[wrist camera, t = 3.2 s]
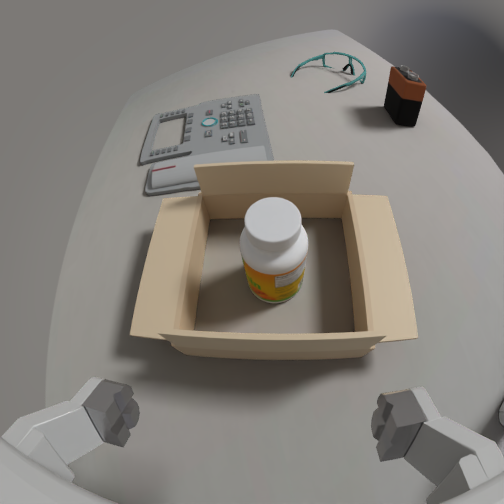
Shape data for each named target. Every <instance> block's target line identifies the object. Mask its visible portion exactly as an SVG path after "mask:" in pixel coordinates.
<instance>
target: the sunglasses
mask: <svg viewBox="0 0 504 504" xmlns="http://www.w3.org/2000/svg"><path fill="white" fill-rule="evenodd" d="M326 54H339V55H345V56H348V57H349V64H347V65H346V66H345V67H344V68H343V71H345V70H346V69H347V68H348V67H349V66H350V67H351V74H353V75H354V76H355V73H354V67H353V64H352V58H353V59H355V60H356V61H358V62H359V63H360V64H361V65H362V67H363V69H364V72H363V73H362V74H361V75H360V76H359V77H358V78H357V79H355V80H353V81H351V82H349V83H346V84H343V85H341V86H338V87H336V88H333V89H331V90H328V91H326V92H324V93H331V92H333V91H336V90H338V89H341V88H343V87H346V86H349V85H352V84H353V83H355V82H356V81H358V80H360V79H363V81H361V80H360V81H361V83H364V81H365V78H366V69H365V66H364V65H363V63H362V62H361V61H360V60H359V59H357V58H356V57H354V56H351V55H348V54H345V53H339V52H333V53H324V54H323V55H319V56H316V57H313V58H311V59H309V60H306V61H305V62H303V63H301V64H299V65H298V66H297V67H296V68H295V70H294V72H293V73H292V76H291V78H292V77H293V76H294V74H295V72H296V71H297V70H298V68H300V67H301V66H303V65H305V64H306V63H308V62H310V61H313V60H318V59H322V61H323V66H324V67H329V66H326V65H325V55H326ZM350 59H351V64H350ZM329 68H332V67H329Z"/></svg>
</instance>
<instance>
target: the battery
mask: <svg viewBox="0 0 504 504" xmlns="http://www.w3.org/2000/svg"><path fill="white" fill-rule="evenodd" d="M425 90H426V85H425V83H424V82H423V81H422V80H420V79H419V75H417V74H415V73H414V72H412V71H411V70H409V68H408V67H406V66H402V65H401V68H399V67H391V70H390V76H389V82H388V87H387V93H386V98H385V103H384V107H385V108H386V110H387V111H388V113H389V114H390V116H391V117H392V119H393V120H394V122H395V123H396V124H399V125H407V126H415V125H416V122H417V118H418V115H419V112H420V108H421V105H422V101H423V97H424V94H425Z"/></svg>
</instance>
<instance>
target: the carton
mask: <svg viewBox="0 0 504 504" xmlns="http://www.w3.org/2000/svg"><path fill="white" fill-rule="evenodd" d="M353 167H354V163H353V162H340V161H246V162H225V163H210V164H196V165H194V170H195V173H196V177H197V180H198V183H199V186H200V189H201V192H202V193H199V194H198V196H193V197H176V198H163V201H162V204H161V207H160V211H159V214H158V217H157V221H156V224H155V228H154V231H153V235H152V238H151V242H150V246H149V249H148V253H147V257H146V261H145V265H144V269H143V273H142V277H141V282H140V286H139V291H138V295H137V300H136V305H135V309H134V314H133V320H132V325H131V330H130V335H131V336H135V337H142V338H151V339H159V340H168V341H169V342H171V346H172V347H174V348H175V349H177V350H179V351H180V352H182V353H184V354H185V355H191V356H202V357H215V358H230V359H253V360H320V359H343V358H358V357H363V356H364V355H366V354H367V353H369V352H370V351H372V350H373V349H375V344H377V343H382V342H393V341H403V340H411V339H417V338H418V334H417V326H416V319H415V312H414V306H413V300H412V294H411V288H410V283H409V278H408V273H407V268H406V264H405V259H404V255H403V251H402V247H401V243H400V239H399V235H398V231H397V227H396V224H395V220H394V217H393V213H392V210H391V207H390V203H389V200H388V197H387V196H377V195H352V192H351V191H348V189H349V185H350V181H351V176H352V172H353ZM269 197H278V198H283V199H286V200H288V201H290V202H292V203H293V204H294V205H295V206H296V207H297V208H298V210H299V212H300V214H301V218H342V224H343V230H344V237H345V244H346V251H347V258H348V266H349V274H350V283H351V292H352V302H353V314H354V327H355V332H344V333H314V334H259V333H228V332H208V331H194V327H195V319H196V311H197V303H198V296H199V289H200V282H201V275H202V268H203V261H204V255H205V248H206V242H207V236H208V230H209V224H210V219H238V218H245V214H246V212H247V210H248V209H249V207H250V206H251V205H252V204H254V203H255V202H257V201H259V200H261V199H264V198H269Z"/></svg>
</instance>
